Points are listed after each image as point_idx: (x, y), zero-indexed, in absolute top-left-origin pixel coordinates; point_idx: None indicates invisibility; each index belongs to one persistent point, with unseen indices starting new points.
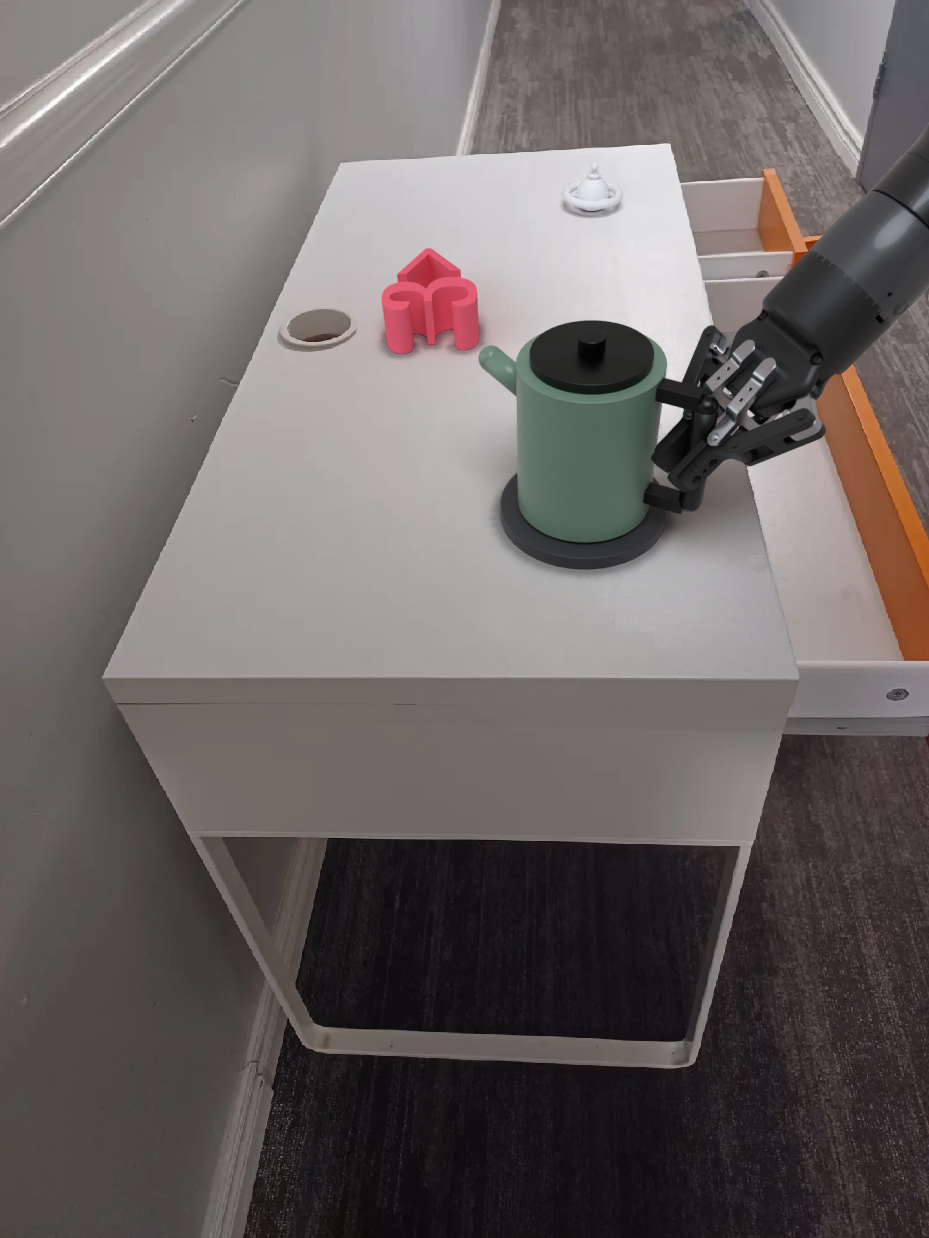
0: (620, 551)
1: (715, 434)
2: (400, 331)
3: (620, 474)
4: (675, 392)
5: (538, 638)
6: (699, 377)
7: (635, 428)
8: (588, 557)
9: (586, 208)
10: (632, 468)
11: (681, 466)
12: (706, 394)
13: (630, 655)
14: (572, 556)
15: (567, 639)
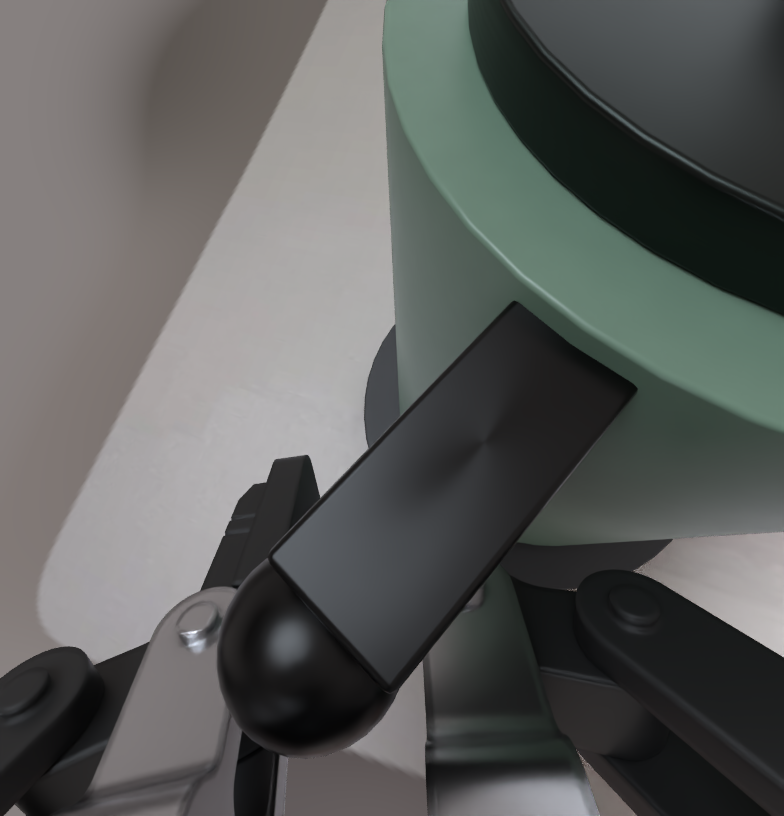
0: (369, 430)
1: (188, 630)
2: None
3: (398, 354)
4: (415, 403)
5: (255, 281)
6: (745, 778)
7: (408, 300)
8: (372, 372)
9: None
10: (409, 389)
11: (278, 487)
12: (497, 729)
13: (170, 390)
14: (383, 348)
15: (238, 316)
